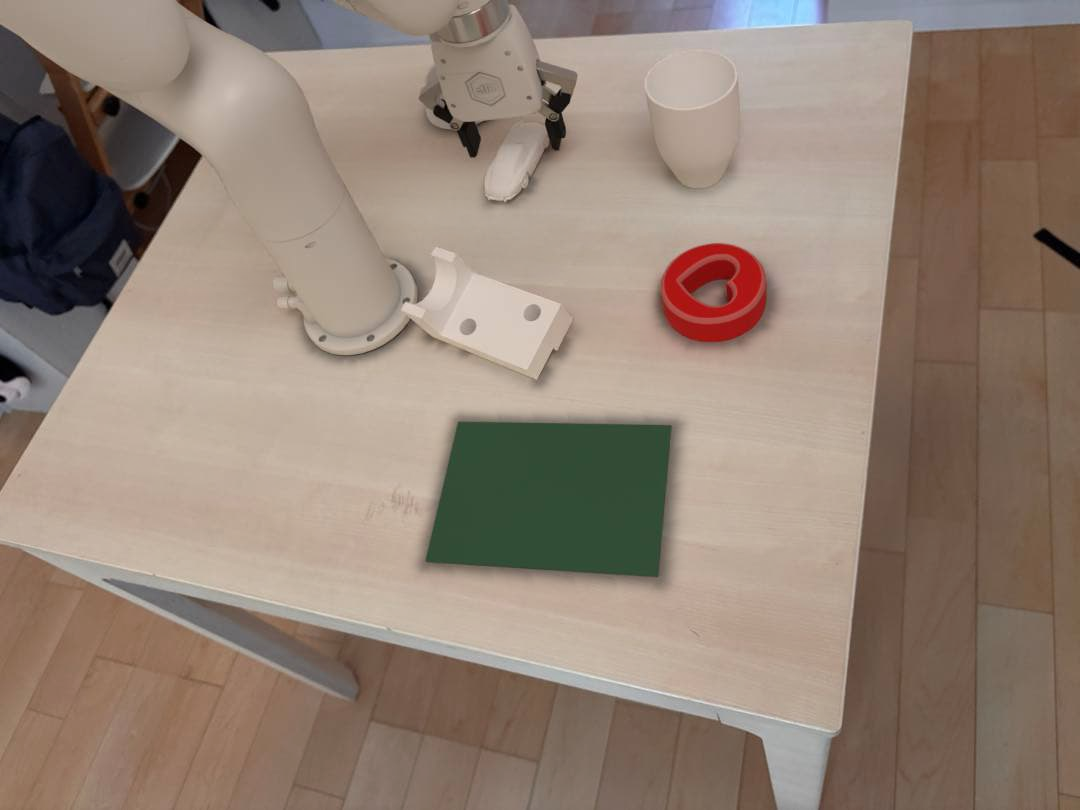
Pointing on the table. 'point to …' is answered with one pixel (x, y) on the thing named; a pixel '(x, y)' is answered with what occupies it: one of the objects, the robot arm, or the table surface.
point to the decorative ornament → (702, 268)
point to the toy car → (515, 161)
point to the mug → (694, 114)
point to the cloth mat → (554, 497)
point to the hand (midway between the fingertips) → (516, 145)
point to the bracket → (489, 317)
